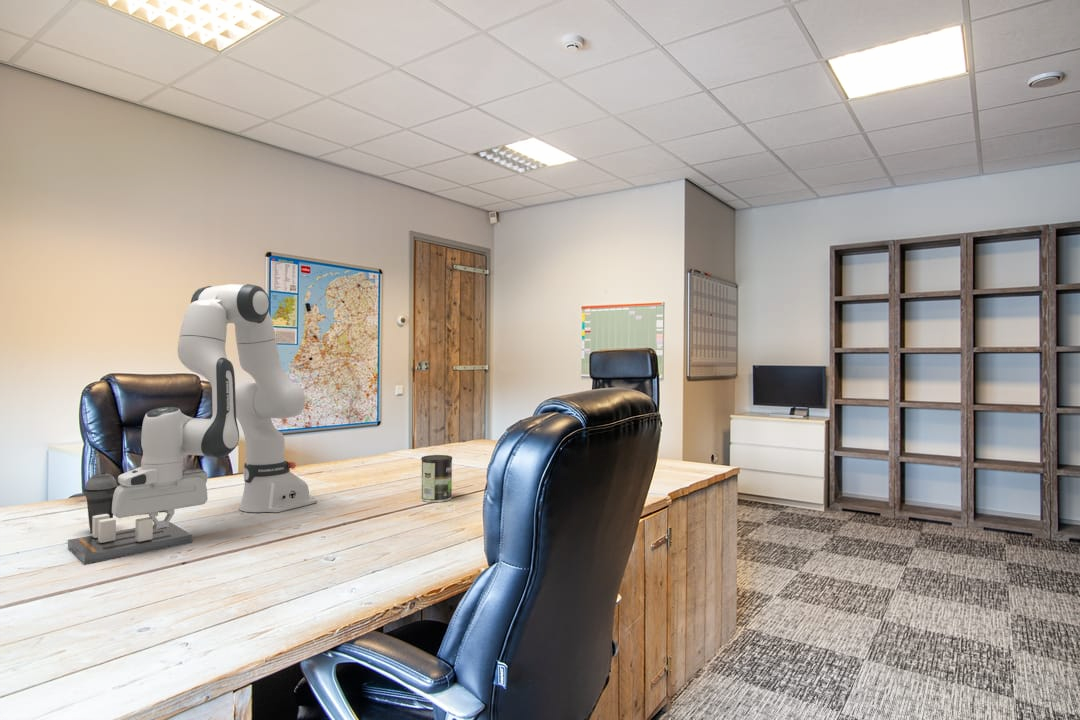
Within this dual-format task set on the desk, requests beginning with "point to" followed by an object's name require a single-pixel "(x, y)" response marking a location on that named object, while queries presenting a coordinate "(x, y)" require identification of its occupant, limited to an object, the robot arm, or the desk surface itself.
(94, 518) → the block
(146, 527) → the block
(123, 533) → the grey slider panel
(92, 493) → the beverage cup
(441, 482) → the coffee can
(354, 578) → the desk surface
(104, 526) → the block
